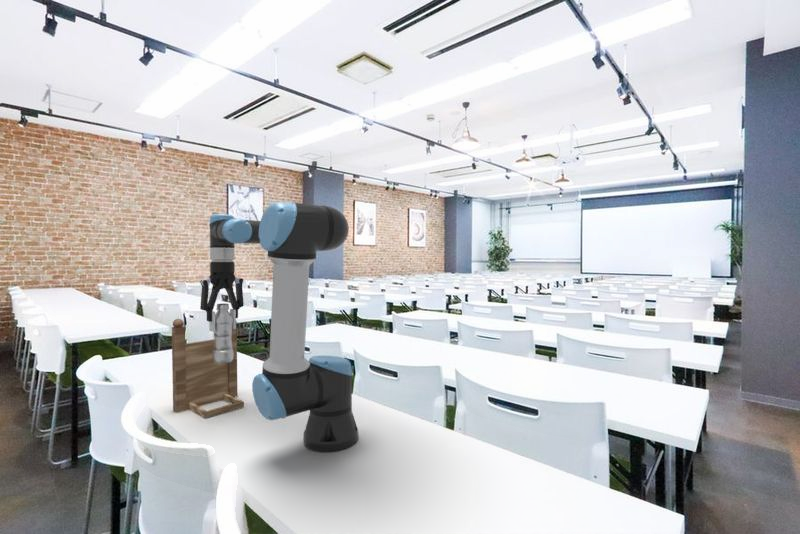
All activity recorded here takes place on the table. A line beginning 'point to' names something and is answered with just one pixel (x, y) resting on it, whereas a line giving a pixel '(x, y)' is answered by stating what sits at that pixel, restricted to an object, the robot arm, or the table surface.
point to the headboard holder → (202, 375)
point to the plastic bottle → (223, 335)
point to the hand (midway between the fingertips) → (222, 329)
